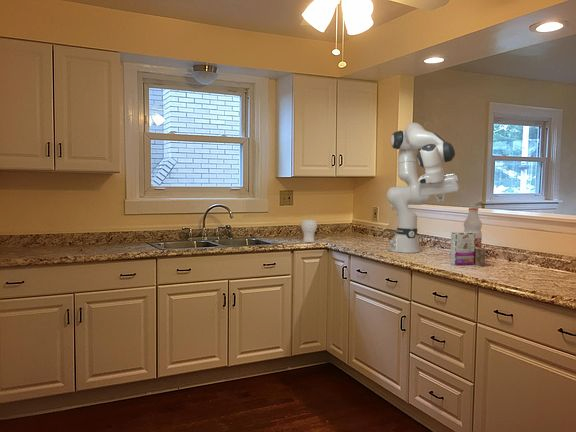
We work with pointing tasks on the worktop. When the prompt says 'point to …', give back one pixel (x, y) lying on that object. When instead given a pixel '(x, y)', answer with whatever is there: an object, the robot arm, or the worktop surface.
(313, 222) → the cup
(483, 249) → the block
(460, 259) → the candy bar box
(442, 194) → the robot arm
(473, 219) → the fruit juice
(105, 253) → the worktop surface
